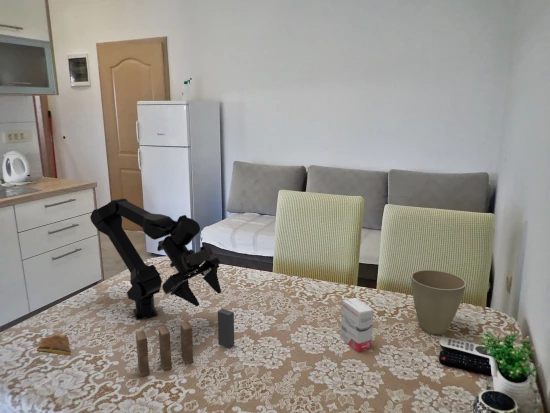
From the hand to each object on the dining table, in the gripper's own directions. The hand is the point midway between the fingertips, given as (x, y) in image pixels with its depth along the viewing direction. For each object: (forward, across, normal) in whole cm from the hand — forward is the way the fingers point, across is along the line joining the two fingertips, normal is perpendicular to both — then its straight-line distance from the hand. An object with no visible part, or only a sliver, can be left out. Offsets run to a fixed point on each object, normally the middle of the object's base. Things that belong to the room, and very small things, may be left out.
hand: (209, 299), depth 112 cm
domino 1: (+6, -20, +12) cm, 24 cm away
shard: (-14, -25, +32) cm, 43 cm away
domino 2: (+8, -16, +10) cm, 20 cm away
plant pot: (+46, +41, -28) cm, 68 cm away
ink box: (+34, +20, -16) cm, 43 cm away
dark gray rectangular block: (+13, 0, +5) cm, 13 cm away
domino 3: (+10, -11, +8) cm, 16 cm away
